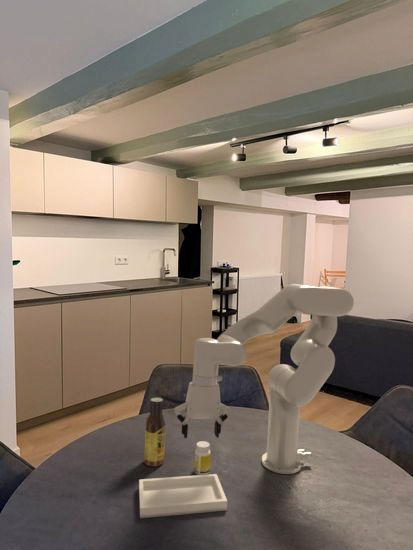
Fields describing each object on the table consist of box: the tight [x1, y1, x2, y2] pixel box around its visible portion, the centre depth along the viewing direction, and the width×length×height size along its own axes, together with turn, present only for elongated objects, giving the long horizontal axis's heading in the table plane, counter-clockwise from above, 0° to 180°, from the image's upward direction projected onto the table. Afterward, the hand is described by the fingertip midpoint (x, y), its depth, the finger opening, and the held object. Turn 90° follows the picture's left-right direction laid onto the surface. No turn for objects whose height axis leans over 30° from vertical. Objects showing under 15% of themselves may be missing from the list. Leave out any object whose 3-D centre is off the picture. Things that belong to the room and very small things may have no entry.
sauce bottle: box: [143, 397, 167, 468], centre depth 120 cm, size 7×6×20 cm
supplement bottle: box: [193, 440, 212, 475], centre depth 116 cm, size 5×5×8 cm
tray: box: [138, 473, 228, 519], centre depth 102 cm, size 22×12×2 cm, turn 101°
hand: (200, 435), depth 115 cm, fingers open, 9 cm apart
